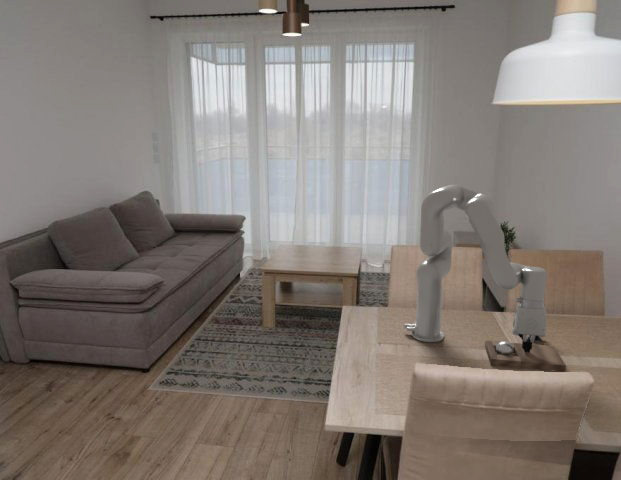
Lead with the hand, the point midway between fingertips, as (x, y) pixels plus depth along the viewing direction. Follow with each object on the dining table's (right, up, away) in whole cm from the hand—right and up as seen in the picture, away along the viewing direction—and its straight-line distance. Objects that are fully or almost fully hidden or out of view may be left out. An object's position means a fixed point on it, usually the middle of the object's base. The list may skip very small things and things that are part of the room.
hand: (526, 350), depth 174 cm
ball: (-7, 0, +2) cm, 7 cm away
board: (-1, -3, +1) cm, 3 cm away
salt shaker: (+11, 0, +17) cm, 20 cm away
